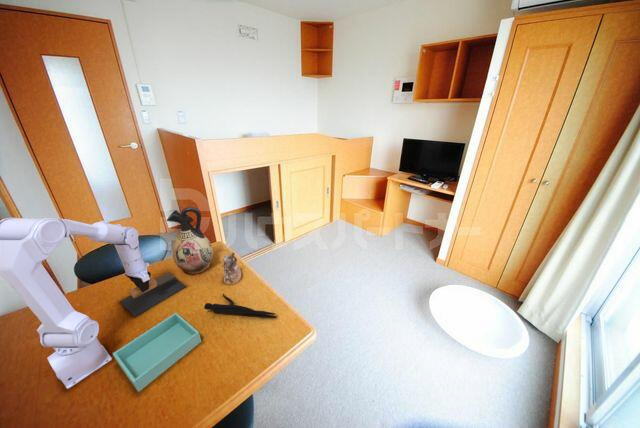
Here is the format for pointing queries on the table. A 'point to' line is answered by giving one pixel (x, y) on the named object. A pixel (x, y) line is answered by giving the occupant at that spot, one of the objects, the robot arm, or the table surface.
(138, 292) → the spatula
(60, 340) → the robot arm
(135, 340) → the bin
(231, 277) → the figurine
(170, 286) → the tray
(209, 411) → the table surface
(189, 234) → the ceramic jug
